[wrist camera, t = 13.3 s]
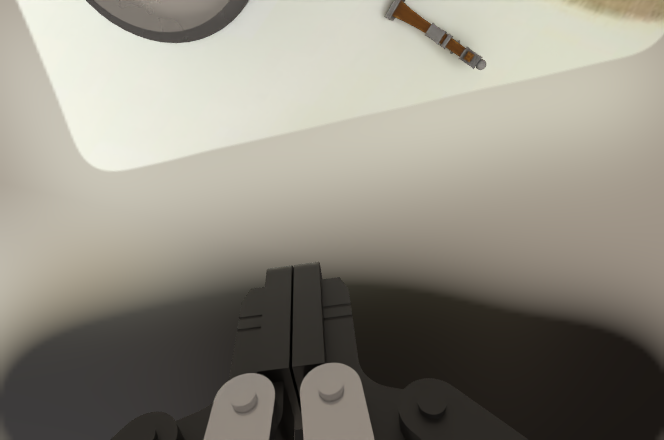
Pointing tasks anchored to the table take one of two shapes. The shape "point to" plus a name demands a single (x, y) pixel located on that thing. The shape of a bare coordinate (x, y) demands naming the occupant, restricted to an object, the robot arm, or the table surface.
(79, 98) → the table surface
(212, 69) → the table surface
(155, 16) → the silver disc with handle
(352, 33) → the table surface
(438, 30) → the toy blunderbuss
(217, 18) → the base plate
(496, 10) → the table surface
